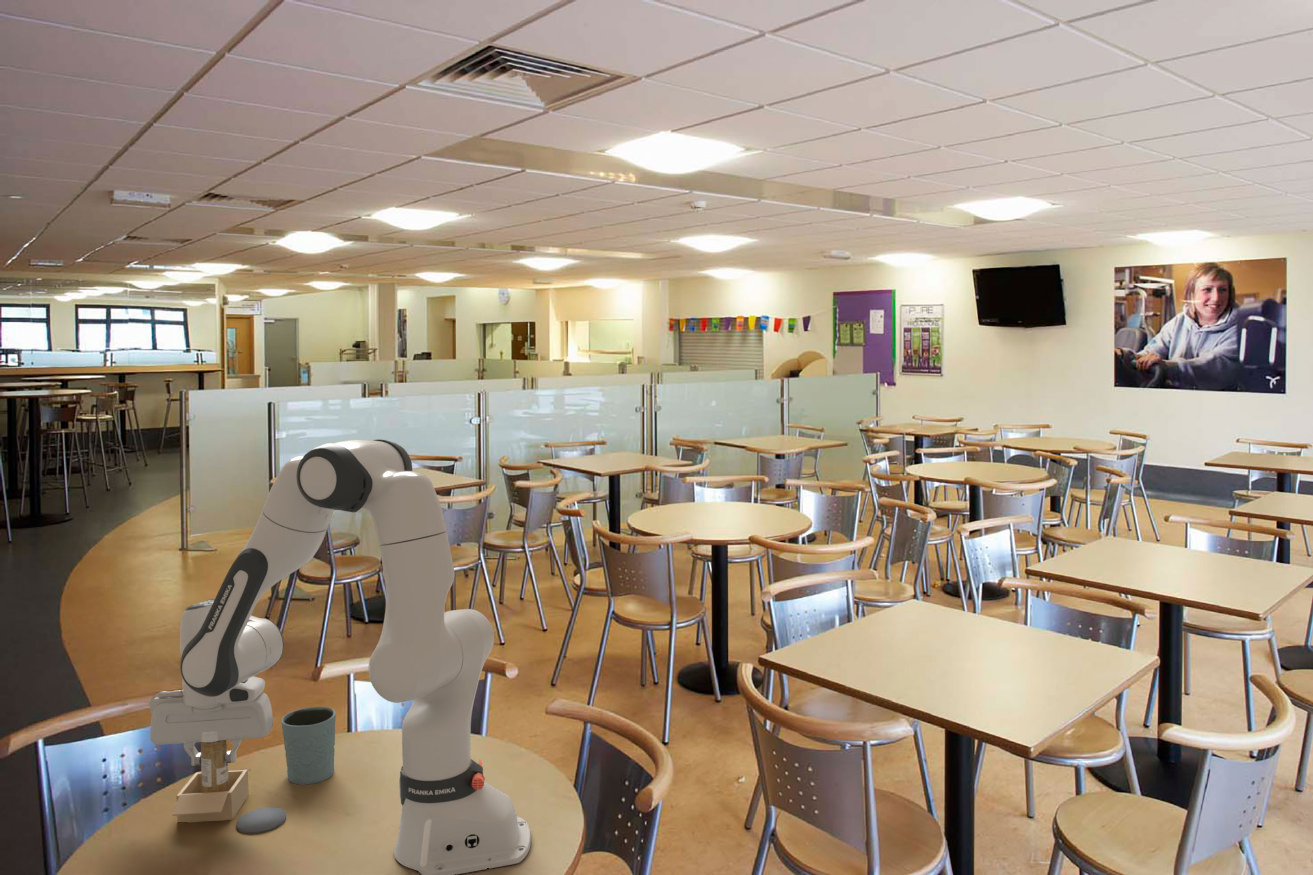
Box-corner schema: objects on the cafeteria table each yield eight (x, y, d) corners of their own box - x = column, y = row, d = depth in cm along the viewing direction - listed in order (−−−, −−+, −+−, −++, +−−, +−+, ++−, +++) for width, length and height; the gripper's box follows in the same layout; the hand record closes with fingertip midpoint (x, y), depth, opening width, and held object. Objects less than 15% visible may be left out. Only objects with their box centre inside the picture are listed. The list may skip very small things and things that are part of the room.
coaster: (291, 808, 162) (291, 805, 162) (279, 831, 154) (278, 828, 154) (245, 811, 161) (245, 808, 161) (230, 834, 153) (230, 831, 153)
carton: (254, 785, 171) (253, 760, 171) (225, 830, 155) (224, 801, 154) (204, 788, 170) (203, 762, 170) (169, 833, 154) (167, 805, 153)
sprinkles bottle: (231, 800, 161) (228, 728, 160) (203, 807, 159) (200, 734, 158) (227, 790, 165) (225, 720, 164) (200, 797, 163) (197, 725, 162)
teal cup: (305, 790, 169) (304, 729, 168) (271, 778, 174) (269, 719, 173) (348, 770, 178) (347, 711, 177) (314, 758, 183) (312, 702, 182)
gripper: (141, 698, 156) (145, 775, 157) (263, 691, 159) (267, 766, 160) (156, 686, 162) (160, 759, 163) (273, 679, 165) (277, 751, 166)
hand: (214, 762), depth 161 cm, fingers closed on sprinkles bottle, 4 cm apart
